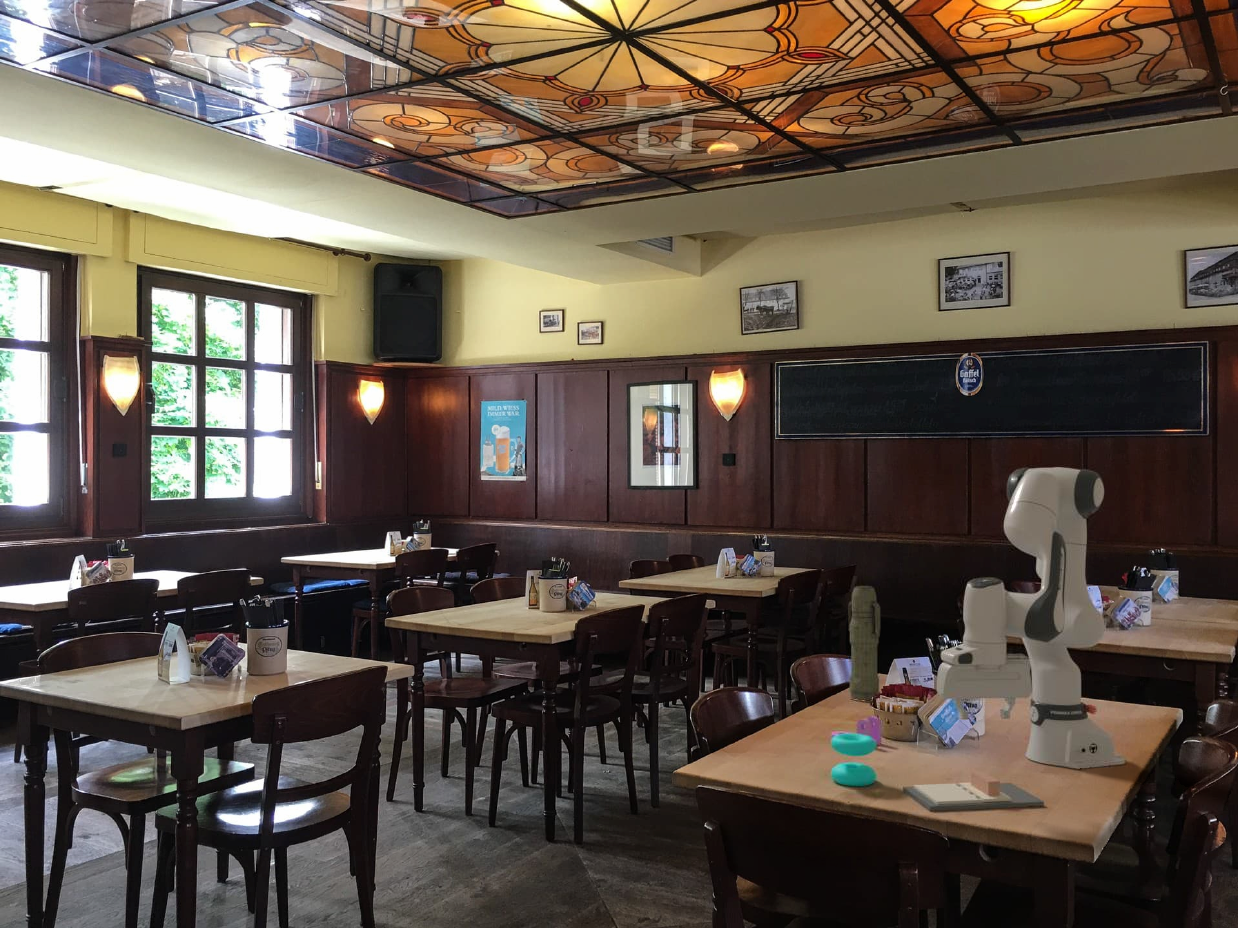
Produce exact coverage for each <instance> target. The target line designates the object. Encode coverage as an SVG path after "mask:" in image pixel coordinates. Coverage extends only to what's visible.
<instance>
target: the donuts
mask: <svg viewBox="0 0 1238 928" xmlns="http://www.w3.org/2000/svg"><path fill="white" fill-rule="evenodd" d="M830 746H831V747H832V749H833V750H834V751H835V752H836V753H839V754H841V755H845V756H848V757H850V756H851V757H862V756H867V755H870V754H872V753H874V751H876V750H875V749H876V748H877V745H876V742H875V740H874V739H873V738H871V737H869V736H867V735H862V734H857V733H854V732H850V733H846V734H839V735H836V736H834V737H833V738H832V739H831V740H830ZM830 777H831V778H832V781H834V782H836V783H838V784H839V785H844V786H849V787H864V786H865V787H867V786H870V785H872V784H874V782H875V781H876V779H877V773H876V772H875V770H874V769H873V768H872V767H871V766H869V765H868V764H865V763H859V762H843V763H838V764H837V765H835V766H834V767H833V768H832V769H831V771H830Z"/></svg>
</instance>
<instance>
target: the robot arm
mask: <svg viewBox="0 0 1238 928" xmlns="http://www.w3.org/2000/svg"><path fill="white" fill-rule="evenodd" d="M1007 479H1008V480H1007V483H1006V496H1007V500H1008V506H1007V509H1006V512H1005V516H1004V521H1003V531H1004V534H1005V536H1006V537H1007V539H1008V541H1009V542H1010V543H1011V544H1012V545H1013V546H1014V547H1016V548H1017V549H1018V550H1020V551H1021V552H1024V553H1026V554H1028V555H1031V556H1033V557H1035V558H1036V565H1035V571H1036V574H1037V576H1038V577H1039V579H1041V583H1040V584H1041V585H1040V590H1039V591H1037V592H1035V593H1024V592H1022V593H1021V592H1012V591H1008V590H1007V589H1005V584H1004V582H1003V580H1001V579H999V578H996V577H990V576H989V577H988V576H987V577H977V578H973V579H970V580H969V581H968V582H967V584H966V587H965V591H964V597H963V609H962V610H963V612H962V613H963V614H962V615H963V617H962V618H963V619H962V620H963V623H964V634H963V637H962V643H961V644H958V645H956V646H953V647H950V648H947V649H944V650H942V651H941V652H940V658H941V660H942V663H941V664H940V665H939V667H938V670H937V675H936V678H937V679H936V692H937V694H938V695H939V697H940V698H943V699H946V700H952V702H953V704H954V706H955V707H956V709H957V713H958V714H957V715H958V719H959V720H961V721H963V720H968V719H969V710H965V709H964V706H963V705H964V702H965V700H966V699H967V700H968V699H971V700H972V699H1004V701H1005V702H1006V703H1005V704H1004V707H1003V708H1001V709H999V713H1000V714H999V717H1000V718H1001V719H1003V720H1009V719H1011V711H1012V710H1013V708H1014V706H1015V705H1016V699H1023V698H1024V699H1028V698H1029V697H1030V696H1032V698H1031V699H1030V705H1029V706H1030V722H1031V724H1030V725H1031V728H1030V733H1029V734H1030V735H1029V740H1028V746H1027V749H1026V753H1025V757H1026V758H1027V759H1029V760H1031V761H1033V762H1037V763H1041V764H1046V765H1051V766H1059V767H1065V768H1068V769H1069V768H1070V769H1074V768H1075V769H1076V770H1077V769H1079V770H1081V769H1080V768H1082V769H1088V768H1090V767H1091V768H1099V767H1109V765H1110V766H1118V765H1125V763H1126V760H1125V758H1124V757H1123V756H1122V755H1121V754H1118V753H1117V752H1116V751H1115V747H1114V741H1113V739H1112V736H1111V734H1109V733H1108V732H1107V731H1106V730H1104V729H1103V728H1102V727H1101V726H1100V725H1098V724H1097V723H1096V722H1095V721H1093V719H1090V717H1089V715H1088V713H1089V714H1091V715H1095V714H1096V713H1097V711H1098V709H1097V707H1096V706H1095V705H1093V704H1086V703H1085V702H1082V674H1081V670H1080V668H1079V666H1078V665H1077V664H1076V663H1075V662H1074V661H1073V659H1072V658H1071V655H1070V653H1069V651H1068V649H1067V648H1072V649H1081V648H1083V649H1084V648H1092V647H1095V646H1096V645H1098V644H1099V642H1101V640H1102V639H1103V636H1104V634H1105V628H1106V626H1105V620H1104V617H1103V615H1102V613H1101V612H1100V611H1099V610H1098V609H1097V607H1096V606H1095V605H1094V603H1093V601H1092V597H1091V595H1090V594H1089V590H1088V587H1087V579H1086V560H1087V559H1086V558H1087V543H1088V542H1087V541H1088V540H1087V539H1088V538H1087V537H1088V534H1087V533H1088V532H1087V531H1088V530H1087V529H1088V527H1087V519H1088V518H1089V516H1090V515H1092V514H1095V512H1097V511H1098V510H1099V508H1100V507H1101V505H1102V503H1103V500H1104V495H1105V488H1104V482H1103V479H1102V477H1101V475H1099V473H1098V472H1096V471H1094V470H1089V469H1085V468H1081V469H1077V468H1071V467H1062V466H1061V467H1060V466H1058V467H1057V466H1056V467H1055V466H1054V467H1036V468H1035V467H1034V468H1031V467H1022V468H1017V469H1015V470H1014V471H1013V472H1011V474H1010V475H1009V477H1008V478H1007ZM1007 637H1011V638H1012V637H1013V638H1021V639H1022V642H1023V645H1024V647H1025V650H1026V653H1027V655H1025V654H1023V653H1016V654H1015V653H1007ZM1031 694H1032V695H1031Z"/></svg>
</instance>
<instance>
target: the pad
mask: <svg viewBox="0 0 1238 928" xmlns="http://www.w3.org/2000/svg"><path fill="white" fill-rule="evenodd" d="M902 792H903V793H905V794H906V795H907V796H908V797H910V798H911V799H912V800H914V801H915V802H917V803H918V804H919V805H921V806H922V807H924V808H925V809H926V810H928V811H929V812H940V811H941V812H944V811H967V810H988V809H987V808H995V809H1012V807H1018V808H1028V807H1027V806H1042V807H1045V801H1044V800H1042V799H1040V798H1038V797H1037V796H1035V795H1034V794H1031V793H1030V792H1028V791H1026V790H1024V789H1023V788H1021V787H1019V786H1018V785H1016V784H1014V783H1012V782H1000V792H1002V793H1004V794H1005V795H1007V796H1009V797H1010V798H1011V801H998V802H983V800H982V799H981V798H979V797H978V796H976V795H975V794H973V793H971V792H970V791H968V790H967V789H965V788H963V787H962V786H960V785H959V784H958V783H936V784H931V783H930V784H913V786H903V787H902Z"/></svg>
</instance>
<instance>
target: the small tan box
mask: <svg viewBox="0 0 1238 928" xmlns="http://www.w3.org/2000/svg"><path fill="white" fill-rule="evenodd" d="M1000 783H1001V782H1000V780H998V779H996V778H995V777H993V776H991V775H990V774H988V773H986V772H984V771H983V770H977V771H976V770H973V771H972V770H971V771H970V782H958V783H957V784H959V785H960V786H962V787H963V788H965V789H967V790H968V791H970V792H971V793H973V794H975V795H976V796H978V797H979V798H981V799H982V800H983V802H998V801H1011V798H1010V797H1009V796H1007V795H1005V794H1004V793H1002V792H1000Z"/></svg>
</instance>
